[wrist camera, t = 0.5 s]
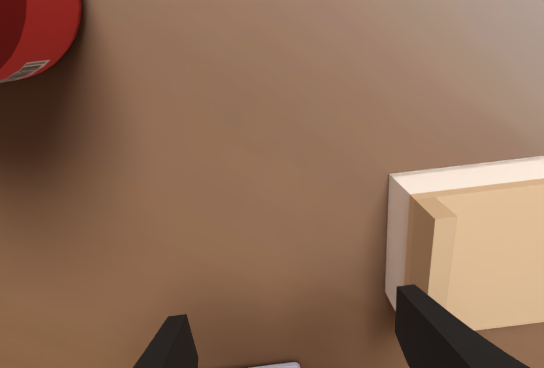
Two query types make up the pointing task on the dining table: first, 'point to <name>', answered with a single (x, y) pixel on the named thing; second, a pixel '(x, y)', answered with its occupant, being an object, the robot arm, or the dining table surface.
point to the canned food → (35, 35)
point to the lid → (480, 252)
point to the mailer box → (439, 181)
